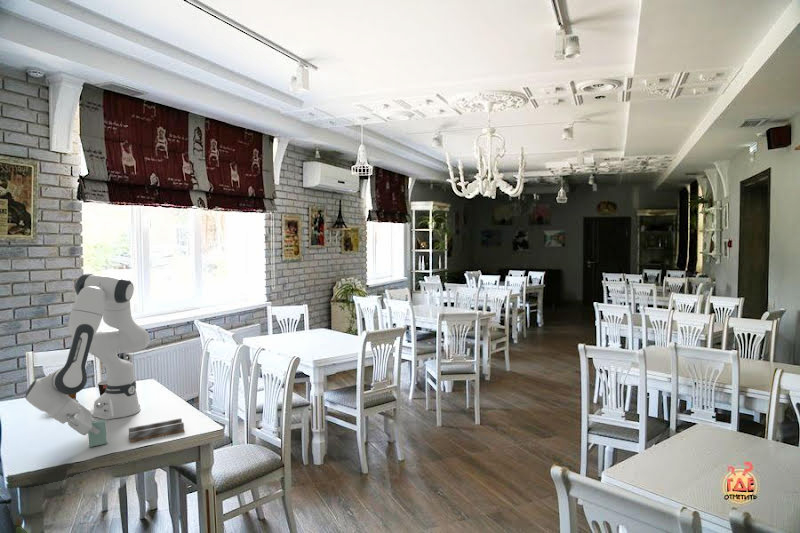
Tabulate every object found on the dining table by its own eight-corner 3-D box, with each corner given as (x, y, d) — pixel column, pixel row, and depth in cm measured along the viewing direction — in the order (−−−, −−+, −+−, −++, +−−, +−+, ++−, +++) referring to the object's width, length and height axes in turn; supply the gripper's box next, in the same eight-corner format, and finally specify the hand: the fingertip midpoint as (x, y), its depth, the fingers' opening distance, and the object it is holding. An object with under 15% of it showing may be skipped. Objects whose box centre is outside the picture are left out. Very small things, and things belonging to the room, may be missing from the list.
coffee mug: (105, 399, 266) (104, 379, 265) (122, 398, 266) (121, 379, 265) (91, 407, 255) (90, 386, 254) (109, 406, 254) (107, 386, 254)
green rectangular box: (89, 447, 204) (87, 424, 204) (89, 444, 207) (87, 422, 206) (106, 443, 207) (105, 421, 207) (106, 441, 210) (105, 419, 209)
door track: (130, 443, 209) (129, 434, 208) (128, 435, 216) (128, 427, 216) (184, 432, 219) (184, 423, 218) (181, 425, 226) (180, 417, 226)
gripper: (73, 412, 193) (105, 432, 199) (74, 397, 211) (104, 416, 217) (59, 426, 191) (92, 446, 197) (62, 410, 209) (92, 429, 215)
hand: (99, 430), depth 207 cm, fingers closed on green rectangular box, 2 cm apart
